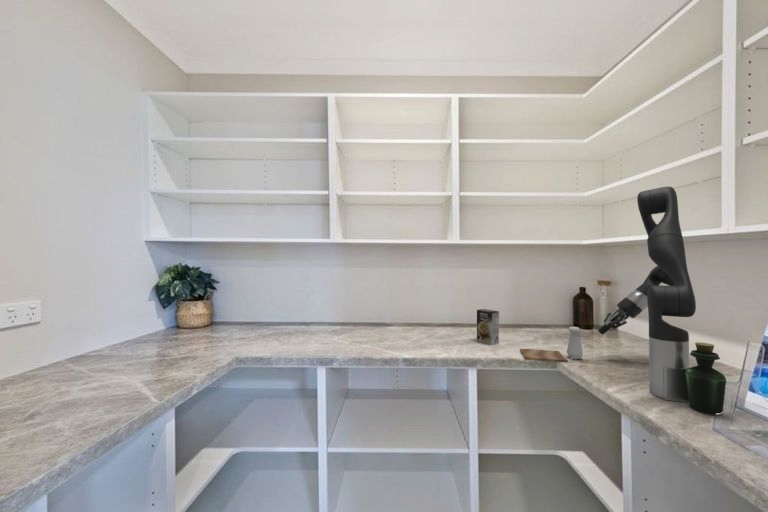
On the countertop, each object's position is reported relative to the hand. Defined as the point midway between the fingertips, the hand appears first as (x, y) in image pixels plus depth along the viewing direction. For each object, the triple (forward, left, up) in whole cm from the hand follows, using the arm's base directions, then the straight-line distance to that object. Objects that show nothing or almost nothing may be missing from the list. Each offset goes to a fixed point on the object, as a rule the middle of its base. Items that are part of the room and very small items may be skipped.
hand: (599, 332), depth 135 cm
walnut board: (0, +22, -11) cm, 25 cm away
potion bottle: (-44, -11, -11) cm, 47 cm away
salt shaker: (0, +9, -11) cm, 15 cm away
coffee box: (+18, +43, -11) cm, 48 cm away
